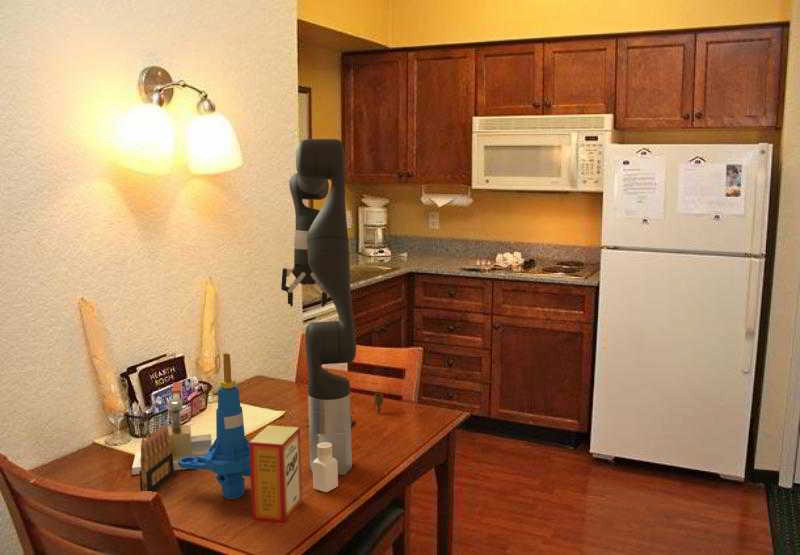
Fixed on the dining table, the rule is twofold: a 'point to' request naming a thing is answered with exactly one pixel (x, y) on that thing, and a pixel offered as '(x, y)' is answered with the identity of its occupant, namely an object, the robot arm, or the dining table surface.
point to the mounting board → (137, 464)
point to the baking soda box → (275, 473)
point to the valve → (226, 441)
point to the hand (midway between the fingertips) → (307, 306)
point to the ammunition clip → (156, 460)
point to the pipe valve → (186, 439)
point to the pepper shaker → (325, 468)
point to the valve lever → (176, 397)
